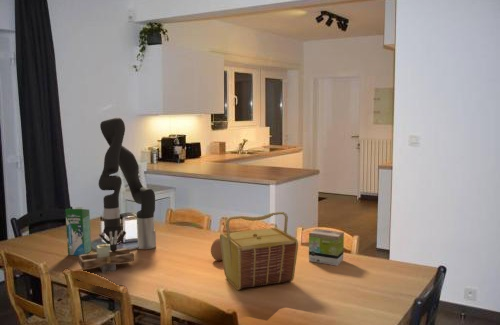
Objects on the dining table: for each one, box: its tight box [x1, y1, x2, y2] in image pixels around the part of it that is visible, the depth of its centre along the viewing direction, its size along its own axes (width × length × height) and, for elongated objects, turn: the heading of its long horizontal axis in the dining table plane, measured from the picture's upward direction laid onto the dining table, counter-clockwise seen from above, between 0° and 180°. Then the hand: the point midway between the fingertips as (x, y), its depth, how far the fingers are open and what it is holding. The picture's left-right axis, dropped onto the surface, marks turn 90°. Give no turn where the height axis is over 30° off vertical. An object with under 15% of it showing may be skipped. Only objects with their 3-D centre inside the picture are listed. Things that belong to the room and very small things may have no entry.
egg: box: [210, 238, 223, 262], centre depth 242 cm, size 8×8×11 cm
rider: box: [96, 243, 110, 258], centre depth 232 cm, size 5×5×7 cm
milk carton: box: [64, 206, 92, 256], centre depth 257 cm, size 9×9×25 cm
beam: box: [77, 247, 135, 274], centre depth 234 cm, size 24×14×6 cm, turn 117°
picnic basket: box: [219, 211, 299, 291], centre depth 213 cm, size 29×26×30 cm
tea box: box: [308, 228, 345, 267], centre depth 239 cm, size 15×10×15 cm, turn 62°
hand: (113, 251), depth 235 cm, fingers closed
